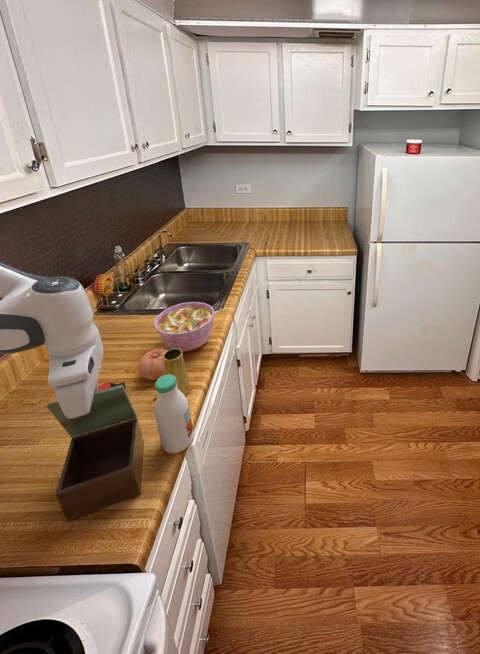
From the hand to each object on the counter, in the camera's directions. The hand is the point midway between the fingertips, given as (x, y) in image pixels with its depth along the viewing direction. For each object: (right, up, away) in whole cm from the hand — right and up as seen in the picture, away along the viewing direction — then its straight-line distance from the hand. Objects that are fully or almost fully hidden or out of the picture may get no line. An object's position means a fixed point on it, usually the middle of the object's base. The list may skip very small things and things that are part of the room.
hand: (94, 399), depth 74 cm
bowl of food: (+4, -1, +47) cm, 47 cm away
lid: (+1, -3, 0) cm, 3 cm away
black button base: (-12, -11, +23) cm, 28 cm away
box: (+2, -19, +2) cm, 20 cm away
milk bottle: (+14, -16, +11) cm, 24 cm away
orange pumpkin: (-1, -7, +33) cm, 34 cm away
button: (-12, -8, +22) cm, 26 cm away
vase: (+9, -10, +26) cm, 29 cm away
